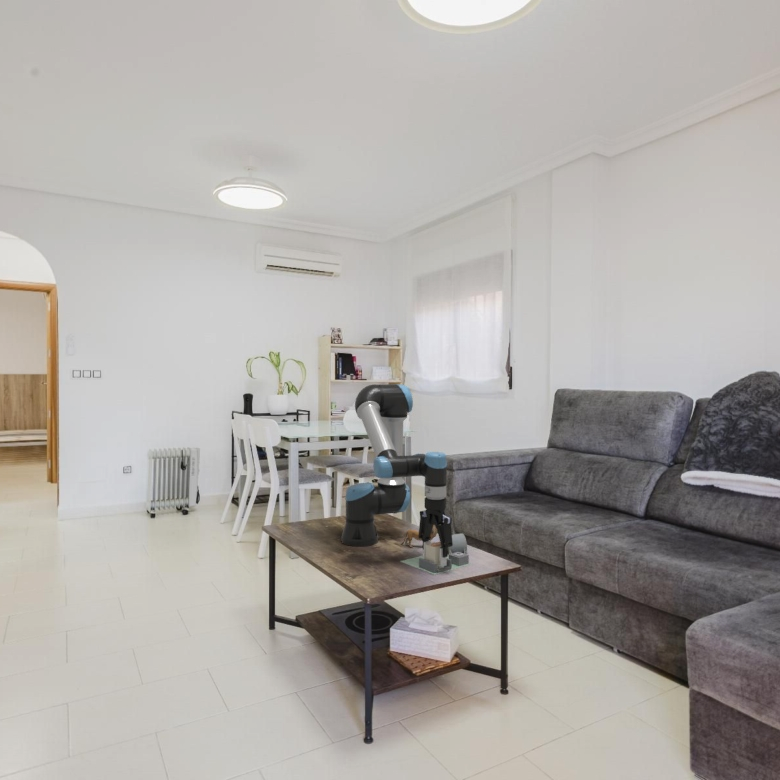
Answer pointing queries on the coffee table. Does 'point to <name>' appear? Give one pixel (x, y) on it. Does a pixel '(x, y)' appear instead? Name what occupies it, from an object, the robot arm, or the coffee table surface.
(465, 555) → the fan
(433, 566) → the header
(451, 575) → the coffee table surface
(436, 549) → the plug
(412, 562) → the board
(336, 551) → the coffee table surface
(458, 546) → the ceramic mug
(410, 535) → the lion figurine
